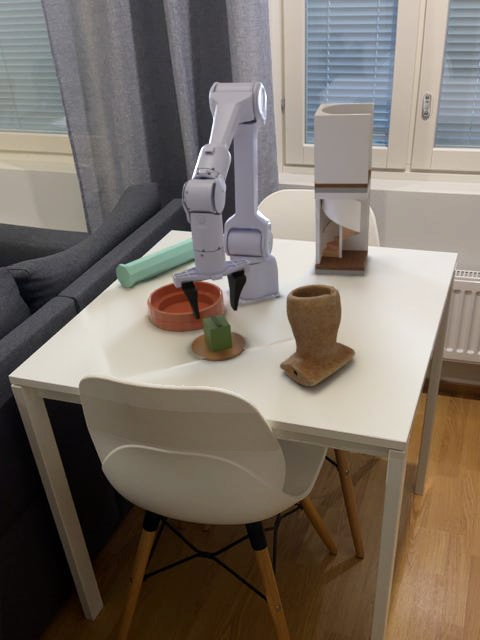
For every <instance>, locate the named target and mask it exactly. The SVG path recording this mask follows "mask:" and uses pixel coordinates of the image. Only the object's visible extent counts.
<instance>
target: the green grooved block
mask: <svg viewBox="0 0 480 640" xmlns="http://www.w3.org/2000/svg"><path fill="white" fill-rule="evenodd" d="M203 327H204V328H203V335H204V336H205V342H206V343H207V345H208V346H209V348H210V349H211V351H212V352H215V351H219V350H224V349H228V348H232V337H231V332H232V327H231V323H230V322H229V321H228V320H227V318H226V317H225V316H224V314H223V315H218V316H215V315H212V316H211V317H209V318H205V319H203Z"/></svg>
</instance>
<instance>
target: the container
mask: <svg viewBox="0 0 480 640" xmlns="http://www.w3.org/2000/svg"><path fill="white" fill-rule="evenodd" d="M192 260H195V258H194V249H193V241H192V237H190V238H188V239H185V240H183V241H180V242H178V243H175V244H172V245H170V246H168V247H165V248H163V249H159V250H157V251H155V252H152V253H150V254H148V255H145V256H143V257H140V258H138V259H135V260H133V261H129V262H128V263H125V264H124V263H120V264H118V265H117V267H116V268H115V274H116V279H117V280H118V282H119V284H120V285H121V287H123V288H126V287H127V288H131V287H133V285H136V284H138V283H140V282H143V281H146V280H148V279H150V278H153V277H155V276H157V275H160V274H162V273H164V272H167V271H169V270H171V269H173V268H176V267H179V266H180V265H181V266H182V265H184V264H186V263H187V262H190V261H192Z"/></svg>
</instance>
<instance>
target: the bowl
mask: <svg viewBox="0 0 480 640" xmlns="http://www.w3.org/2000/svg"><path fill="white" fill-rule="evenodd" d="M193 284H194V285H195V288H196V289H197V291H198V308H199V314H200V319H196V318H195V317H194V315H193V311H192V308H191V305H190V303H189V301H188V299H187V297H186V295H185V293H184V292H183V290H182V288H181V287H178V288H176V287H175V285H174V283H173V282H170V283H168V284H164V285H162V286H160V287H158V288H156V289H154V290H153V291H152V292H151V293H149V295H148V297H147V299H146V305H147V310H148V316H149V320H150V322H151V324H152V325H153V326H155V327H157V328H160V329H162V330H165V331H171V332H189V331H196V330H200V329H204V327H203V319H205V318H209V317H211V316H212V315H215V316H218V315H223V316H224V314H225V301H224V292H223V290H222V289H221V287H220V286H218V285H217V284H214V283H212V282H209V281H205V280H204V281H199V282H194V283H193Z"/></svg>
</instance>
